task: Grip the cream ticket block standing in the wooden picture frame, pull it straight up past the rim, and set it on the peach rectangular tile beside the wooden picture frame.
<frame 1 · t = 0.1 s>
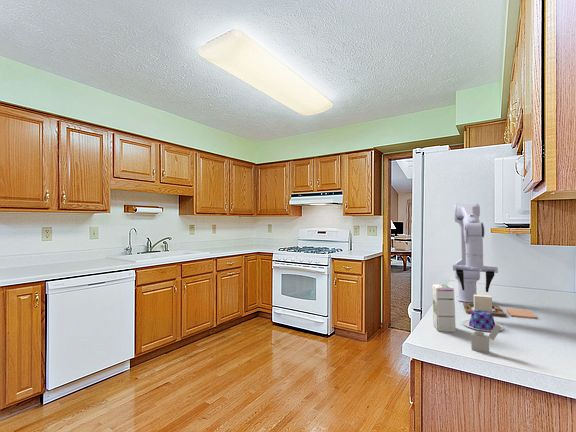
hand: (474, 290, 119), 10 cm above the counter, tool pointing down, fingers open, 7 cm apart
lighter: (486, 352, 87), on the counter
pudding: (482, 327, 108), on the counter
white segmented tower: (444, 329, 106), on the counter
peach rectangular tile: (520, 314, 122), on the counter
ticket: (482, 310, 127), resting in wooden picture frame
wooden picture frame: (482, 310, 127), on the counter
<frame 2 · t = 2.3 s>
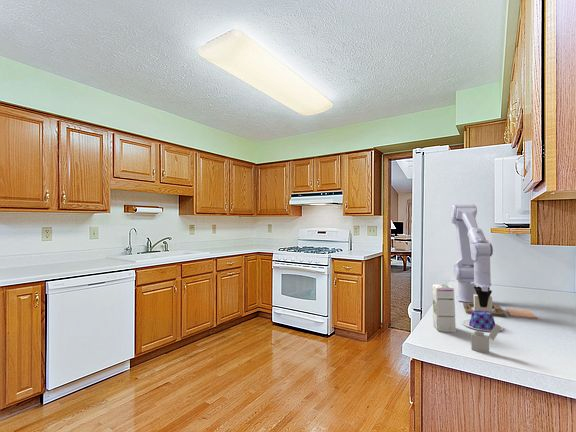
hand: (482, 305, 127), 2 cm above the counter, tool pointing down, fingers closed on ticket, 3 cm apart
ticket: (482, 310, 127), resting in wooden picture frame, touching gripper
everything else where it was.
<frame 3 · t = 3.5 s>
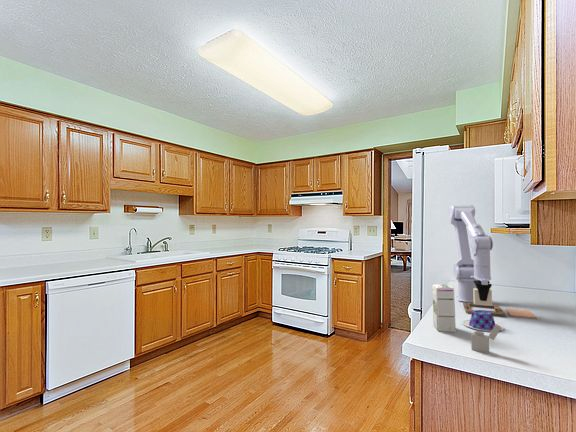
hand: (482, 299, 127), 4 cm above the counter, tool pointing down, fingers closed on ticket, 3 cm apart
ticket: (482, 304, 127), point 2 cm above the counter, touching gripper
everything else where it was.
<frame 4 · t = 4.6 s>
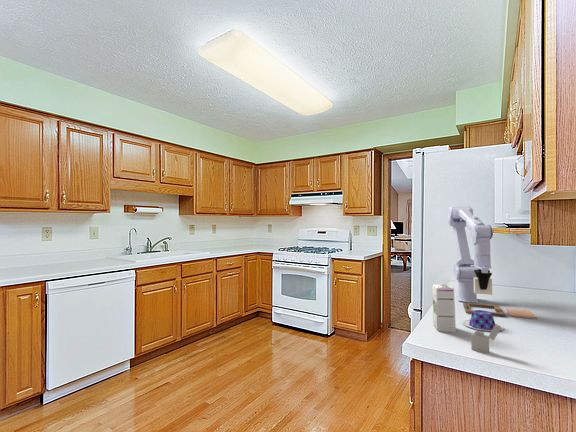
hand: (482, 288, 127), 9 cm above the counter, tool pointing down, fingers closed on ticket, 3 cm apart
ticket: (482, 293, 127), point 7 cm above the counter, touching gripper
everything else where it was.
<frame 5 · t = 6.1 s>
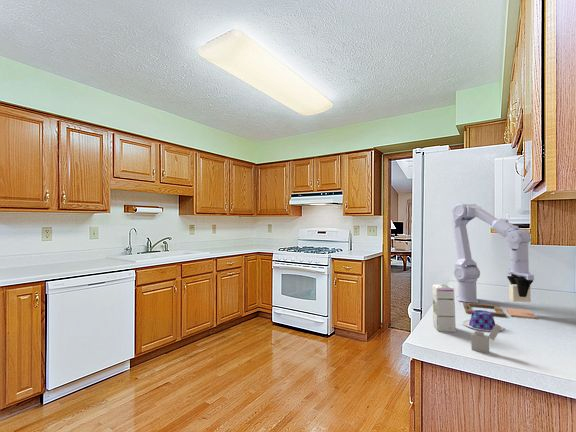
hand: (520, 295, 122), 7 cm above the counter, tool pointing down, fingers closed on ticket, 3 cm apart
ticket: (519, 300, 122), point 5 cm above the counter, touching gripper
everything else where it was.
when the fingers open (3 cm above the counter, at t = 7.2 s): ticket stays where it is, resting on peach rectangular tile.
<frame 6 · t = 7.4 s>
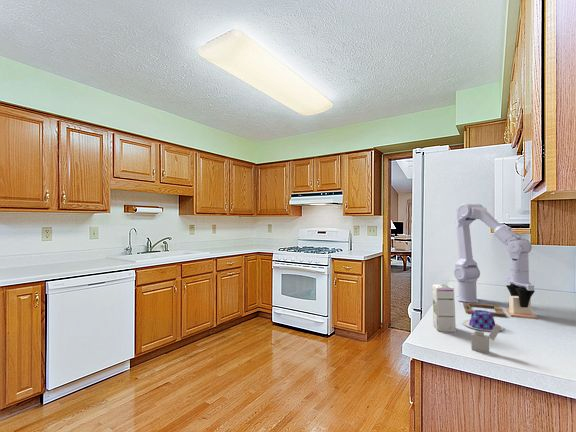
hand: (520, 305, 122), 3 cm above the counter, tool pointing down, fingers open, 4 cm apart
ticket: (520, 312, 122), point 1 cm above the counter, touching peach rectangular tile
everything else where it was.
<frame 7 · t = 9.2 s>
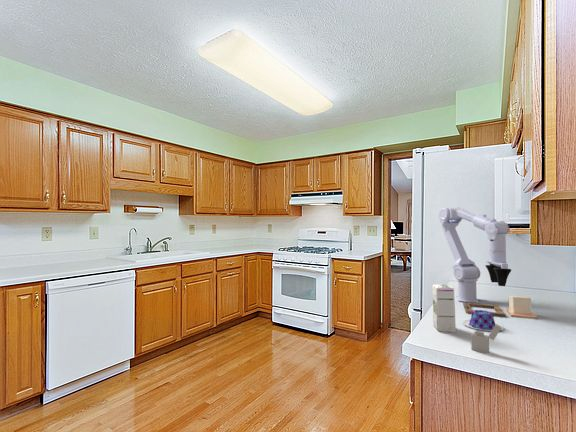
hand: (498, 284, 129), 10 cm above the counter, tool pointing down, fingers open, 7 cm apart
nothing on the counter moved.
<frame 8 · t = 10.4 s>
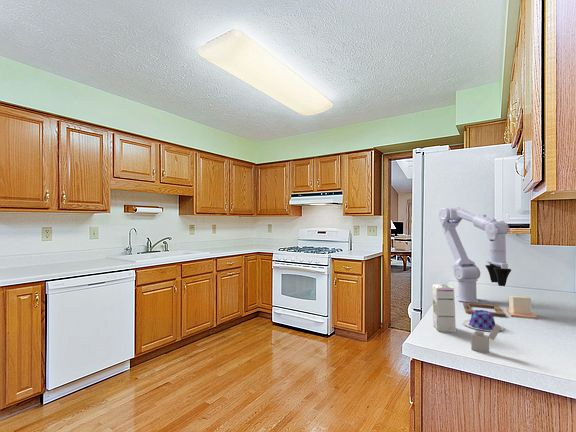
hand: (498, 284, 129), 10 cm above the counter, tool pointing down, fingers open, 7 cm apart
nothing on the counter moved.
at the end: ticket inside the target area on the peach rectangular tile (0.2 cm from its centre), point 0.6 cm above the peach rectangular tile's base; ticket moved 12.4 cm from its start; the gripper is holding nothing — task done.
